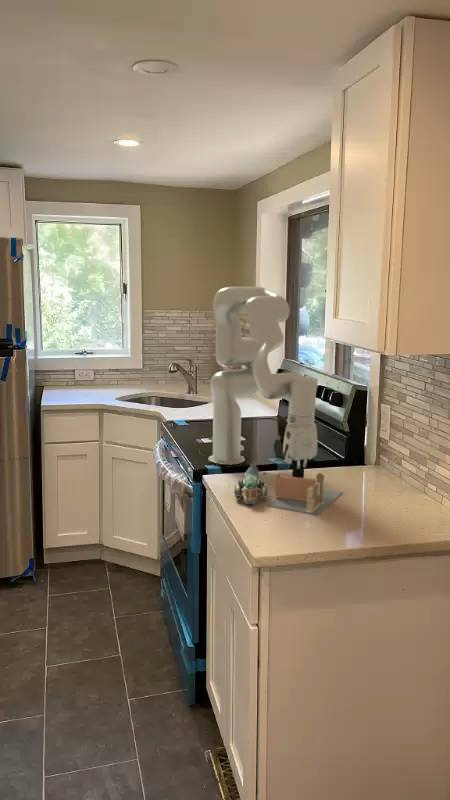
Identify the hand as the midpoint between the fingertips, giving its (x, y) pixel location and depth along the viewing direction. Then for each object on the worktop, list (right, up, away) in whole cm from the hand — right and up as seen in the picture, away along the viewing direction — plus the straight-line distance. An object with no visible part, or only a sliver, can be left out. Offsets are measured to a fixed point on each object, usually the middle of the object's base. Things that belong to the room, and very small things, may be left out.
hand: (297, 479), depth 190 cm
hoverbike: (-14, -4, +1) cm, 14 cm away
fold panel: (-2, -4, -6) cm, 8 cm away
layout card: (+2, -5, -5) cm, 7 cm away
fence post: (+3, -6, -11) cm, 14 cm away
